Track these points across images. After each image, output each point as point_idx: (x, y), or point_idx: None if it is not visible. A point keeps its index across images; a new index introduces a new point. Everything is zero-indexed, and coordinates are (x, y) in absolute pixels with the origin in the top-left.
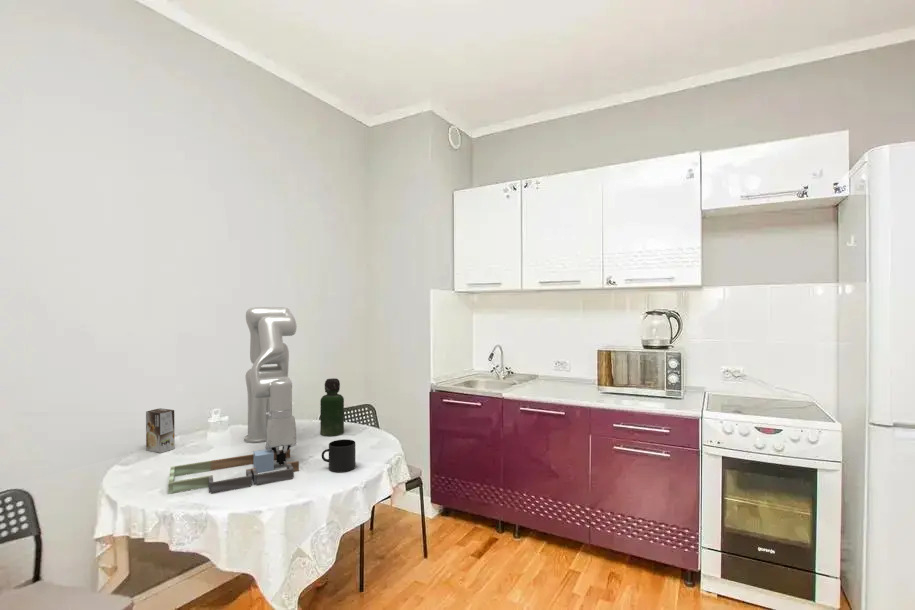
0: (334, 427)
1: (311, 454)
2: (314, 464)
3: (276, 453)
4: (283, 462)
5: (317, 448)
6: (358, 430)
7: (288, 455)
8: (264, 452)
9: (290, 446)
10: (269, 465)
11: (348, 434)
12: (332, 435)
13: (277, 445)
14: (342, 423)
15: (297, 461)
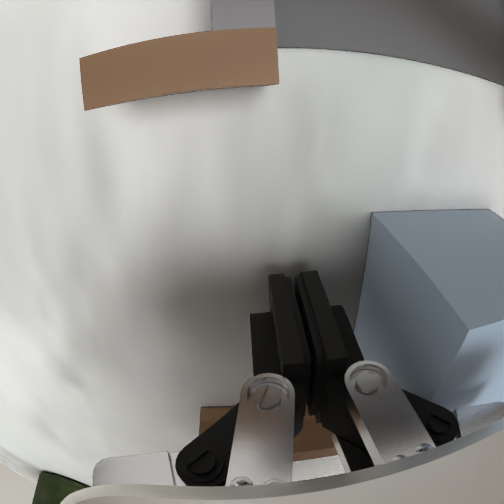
0: (51, 498)
1: (77, 398)
2: (5, 211)
3: (380, 378)
4: (277, 285)
5: (74, 438)
6: (11, 463)
7: (212, 422)
8: (499, 377)
9: (181, 462)
10: (433, 233)
11: (22, 461)
12: (62, 478)
13: (467, 460)
14: (33, 499)
15: (95, 86)
